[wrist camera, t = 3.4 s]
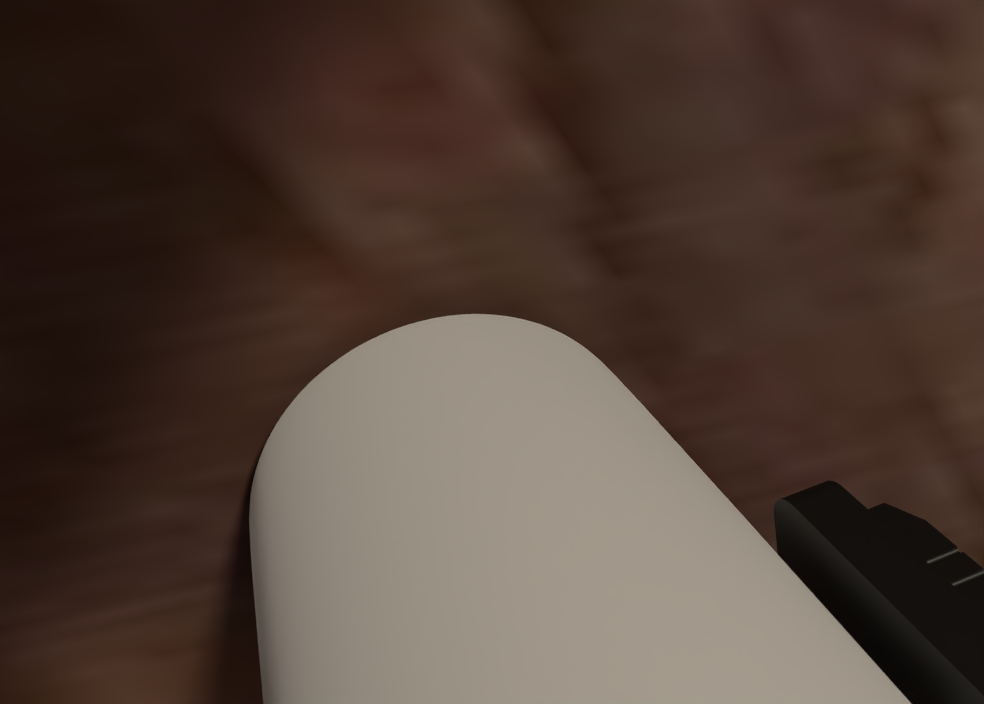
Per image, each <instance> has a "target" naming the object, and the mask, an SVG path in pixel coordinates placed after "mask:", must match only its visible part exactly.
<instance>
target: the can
mask: <svg viewBox="0 0 984 704" xmlns="http://www.w3.org/2000/svg"><path fill="white" fill-rule="evenodd" d="M249 529H250V549H251V563H252V576H253V589H254V601H255V613H256V624H257V636H258V648H259V660H260V671H261V683H262V694H263V704H911V702H910V701H909V700H908V699H907V698H906V697H905V696H904V695H903V694H902V692H901V691H900V690H899V689H898V688H897V687H896V686H895V685H894V683H893V682H892V681H891V680H890V679H889V678H888V677H887V676H886V675H885V673H884V672H883V671H882V670H881V669H880V668H879V667H878V666H877V664H876V663H875V662H874V661H873V660H872V659H871V658H870V657H869V656H868V654H867V653H866V652H865V651H864V650H863V649H862V648H861V647H860V646H859V644H858V643H857V642H856V641H855V640H854V639H853V638H852V637H851V635H850V634H849V633H848V632H847V631H846V630H845V629H844V628H843V627H842V625H841V624H840V623H839V622H838V621H837V620H836V619H835V618H834V617H833V615H832V614H831V613H830V612H829V611H828V610H827V609H826V608H825V607H824V605H823V604H822V603H821V602H820V601H819V600H818V599H817V598H816V596H815V595H814V594H813V593H812V592H811V591H810V590H809V589H808V588H807V586H806V585H805V584H804V583H803V582H802V581H801V580H800V579H799V578H798V576H797V575H796V574H795V573H794V572H793V571H792V570H791V569H790V568H789V566H788V565H787V564H786V563H785V562H784V561H783V560H782V559H781V558H780V556H779V555H778V554H777V553H776V552H775V551H774V550H773V549H772V548H771V546H770V545H769V544H768V543H767V542H766V541H765V540H764V539H763V538H762V536H761V535H760V534H759V533H758V532H757V531H756V530H755V529H754V528H753V526H752V525H751V524H750V523H749V522H748V521H747V520H746V519H745V518H744V516H743V515H742V514H741V513H740V512H739V511H738V510H737V509H736V508H735V506H734V505H733V504H732V503H731V502H730V501H729V500H728V499H727V498H726V497H725V495H724V494H723V493H722V492H721V491H720V490H719V489H718V488H717V487H716V485H715V484H714V483H713V482H712V481H711V480H710V479H709V478H708V477H707V475H706V474H705V473H704V472H703V471H702V470H701V469H700V468H699V467H698V465H697V464H696V463H695V462H694V461H693V460H692V459H691V458H690V457H689V456H688V454H687V453H686V452H685V451H684V450H683V449H682V448H681V447H680V446H679V445H678V443H677V442H676V441H675V440H674V439H673V438H672V437H671V436H670V435H669V434H668V432H667V431H666V430H665V429H664V428H663V427H662V426H661V425H660V424H659V423H658V421H657V420H656V419H655V418H654V417H653V416H652V415H651V414H650V413H649V412H648V410H647V409H646V408H645V407H644V406H643V405H642V404H641V403H640V402H639V401H638V400H637V398H636V397H635V396H634V395H633V394H632V393H631V392H630V391H629V390H628V389H627V388H626V387H625V386H624V384H623V383H622V382H621V381H620V380H619V379H618V378H617V377H616V376H615V375H614V374H613V373H612V372H611V371H610V370H609V369H608V368H607V367H606V366H605V365H604V364H603V363H602V362H601V361H600V360H599V359H598V358H597V357H596V356H594V355H593V354H592V353H591V352H590V351H588V350H587V349H586V348H585V347H583V346H582V345H580V344H579V343H577V342H576V341H574V340H573V339H571V338H569V337H568V336H566V335H564V334H562V333H560V332H558V331H556V330H553V329H551V328H549V327H546V326H543V325H541V324H538V323H534V322H531V321H527V320H524V319H519V318H514V317H508V316H500V315H488V314H464V315H452V316H445V317H438V318H433V319H428V320H424V321H420V322H416V323H412V324H409V325H406V326H403V327H400V328H397V329H394V330H392V331H389V332H387V333H384V334H382V335H380V336H377V337H375V338H373V339H371V340H369V341H367V342H365V343H364V344H362V345H360V346H358V347H356V348H355V349H353V350H351V351H350V352H348V353H347V354H345V355H344V356H342V357H341V358H339V359H338V360H336V361H335V362H334V363H332V364H331V365H330V366H328V367H327V368H326V369H325V370H323V371H322V372H321V373H320V374H319V375H318V376H316V377H315V378H314V379H313V380H312V381H311V382H310V383H309V384H308V385H307V386H306V387H305V388H304V389H303V390H302V391H301V392H300V393H299V395H298V396H297V397H296V398H295V399H294V400H293V402H292V403H291V404H290V405H289V407H288V408H287V409H286V411H285V412H284V413H283V415H282V416H281V418H280V419H279V421H278V422H277V424H276V425H275V427H274V429H273V431H272V432H271V434H270V436H269V438H268V440H267V442H266V444H265V446H264V449H263V451H262V453H261V456H260V459H259V461H258V465H257V468H256V471H255V475H254V479H253V484H252V489H251V496H250V510H249Z"/></svg>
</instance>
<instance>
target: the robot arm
mask: <svg viewBox="0 0 984 704" xmlns="http://www.w3.org/2000/svg"><path fill="white" fill-rule="evenodd" d="M774 517H775V528H776V539H777V550H778V555H779V556H780V558H781V559H782V560H783V561H784V562H785V563H786V564H787V565H788V566H789V568H790V569H791V570H792V571H793V572H794V573H795V574H796V575H797V576H798V578H799V579H800V580H801V581H802V582H803V583H804V584H805V585H806V586H807V588H808V589H809V590H810V591H811V592H812V593H813V594H814V595H815V596H816V598H817V599H818V600H819V601H820V602H821V603H822V604H823V605H824V607H825V608H826V609H827V610H828V611H829V612H830V613H831V614H832V615H833V617H834V618H835V619H836V620H837V621H838V622H839V623H840V624H841V625H842V627H843V628H844V629H845V630H846V631H847V632H848V633H849V634H850V635H851V637H852V638H853V639H854V640H855V641H856V642H857V643H858V644H859V646H860V647H861V648H862V649H863V650H864V651H865V652H866V653H867V654H868V656H869V657H870V658H871V659H872V660H873V661H874V662H875V663H876V664H877V666H878V667H879V668H880V669H881V670H882V671H883V672H884V673H885V675H886V676H887V677H888V678H889V679H890V680H891V681H892V682H893V683H894V685H895V686H896V687H897V688H898V689H899V690H900V691H901V692H902V694H903V695H904V696H905V697H906V698H907V699H908V700H909V701H910V702H911V704H984V571H983V568H982V567H981V566H979V565H978V564H977V563H976V562H975V561H974V560H972V559H971V558H970V557H969V556H968V555H966V554H965V553H964V552H962V553H960V552H959V551H958V549H957V546H956V545H954V544H953V543H952V542H951V541H950V540H948V539H947V538H946V537H945V536H944V535H942V534H941V533H940V532H939V531H938V530H937V529H935V528H934V527H933V526H932V525H931V524H929V523H928V522H927V521H926V520H924V519H921V518H919V517H916V516H914V515H912V514H909V513H907V512H905V511H902V510H900V509H897V508H895V507H893V506H890V505H888V504H886V503H883V504H880V505H878V506H875V507H873V508H870V509H867V508H866V507H865V506H863V505H862V504H861V503H860V502H859V501H858V500H857V499H856V498H854V497H853V496H852V495H851V494H850V493H849V492H848V491H847V490H845V489H844V488H843V487H842V486H841V485H839V484H838V483H836V482H834V481H826V482H823V483H821V484H818V485H815V486H813V487H810V488H808V489H805V490H803V491H800V492H797V493H795V494H792V495H790V496H787V497H784V498H782V499H779V500H777V502H776V503H775V507H774Z"/></svg>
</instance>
